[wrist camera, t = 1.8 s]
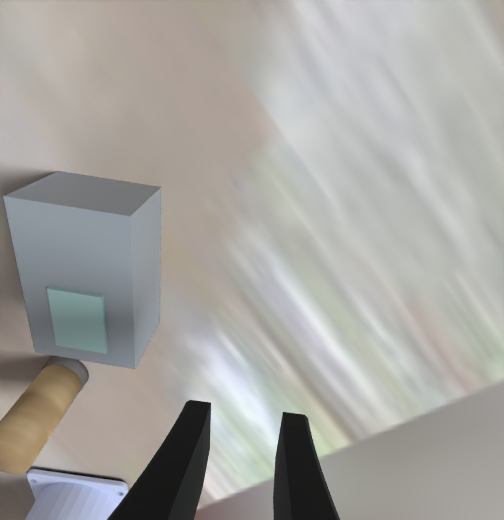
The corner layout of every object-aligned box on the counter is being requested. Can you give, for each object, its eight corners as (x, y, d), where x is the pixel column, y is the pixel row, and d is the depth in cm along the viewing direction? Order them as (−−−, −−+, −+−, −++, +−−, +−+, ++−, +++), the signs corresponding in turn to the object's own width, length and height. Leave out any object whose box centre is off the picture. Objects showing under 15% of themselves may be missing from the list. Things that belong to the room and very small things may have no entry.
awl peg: (91, 388, 24) (35, 478, 19) (51, 383, 25) (-14, 470, 19) (85, 357, 23) (24, 444, 18) (43, 352, 23) (-29, 437, 18)
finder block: (160, 319, 21) (133, 372, 18) (76, 305, 22) (32, 355, 18) (162, 185, 18) (128, 218, 14) (60, 170, 18) (-1, 197, 14)
